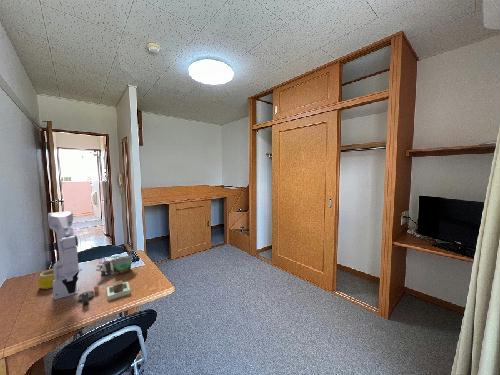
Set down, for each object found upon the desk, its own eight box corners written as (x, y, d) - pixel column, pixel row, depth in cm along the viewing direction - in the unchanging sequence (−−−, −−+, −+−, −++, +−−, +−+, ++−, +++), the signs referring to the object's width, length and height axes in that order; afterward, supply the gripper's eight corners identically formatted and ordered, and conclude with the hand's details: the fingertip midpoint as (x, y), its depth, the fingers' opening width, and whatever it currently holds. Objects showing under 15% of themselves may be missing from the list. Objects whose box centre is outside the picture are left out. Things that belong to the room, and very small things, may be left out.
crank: (78, 296, 112) (78, 287, 112) (93, 292, 116) (93, 283, 115) (77, 307, 103) (76, 297, 102) (93, 302, 107) (93, 293, 106)
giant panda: (111, 268, 143) (110, 255, 142) (119, 269, 143) (118, 255, 142) (93, 280, 129) (91, 265, 128) (101, 280, 128) (100, 265, 127)
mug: (35, 287, 121) (33, 267, 120) (59, 278, 131) (57, 259, 130) (45, 293, 115) (43, 272, 114) (70, 283, 125) (68, 263, 124)
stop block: (114, 294, 113) (113, 285, 112) (113, 291, 116) (113, 282, 116) (123, 292, 115) (122, 283, 115) (122, 288, 118) (121, 280, 118)
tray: (108, 300, 109) (107, 296, 108) (107, 291, 117) (106, 287, 116) (130, 293, 114) (130, 289, 114) (128, 285, 122) (127, 281, 122)
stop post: (94, 294, 115) (93, 287, 114) (94, 292, 116) (94, 286, 116) (99, 292, 116) (98, 286, 115) (99, 291, 117) (98, 284, 117)
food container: (116, 278, 131) (114, 262, 130) (111, 275, 135) (110, 259, 134) (136, 270, 141) (135, 255, 140) (132, 267, 145) (131, 253, 144)
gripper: (80, 264, 98) (82, 293, 99) (81, 254, 109) (83, 280, 111) (59, 269, 93) (62, 298, 95) (63, 258, 105) (65, 284, 106)
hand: (72, 289), depth 102 cm, fingers open, 7 cm apart
